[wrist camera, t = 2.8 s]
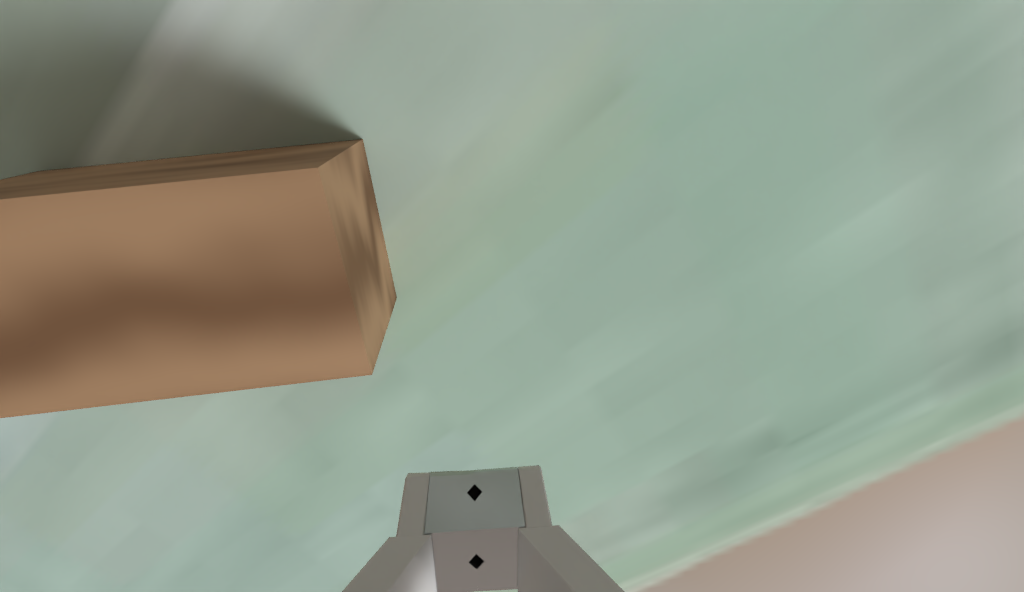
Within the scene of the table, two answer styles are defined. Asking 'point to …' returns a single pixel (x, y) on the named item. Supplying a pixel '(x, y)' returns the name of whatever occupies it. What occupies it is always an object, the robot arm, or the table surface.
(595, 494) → the table surface
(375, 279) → the walnut block
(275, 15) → the table surface
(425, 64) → the table surface
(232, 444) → the table surface
